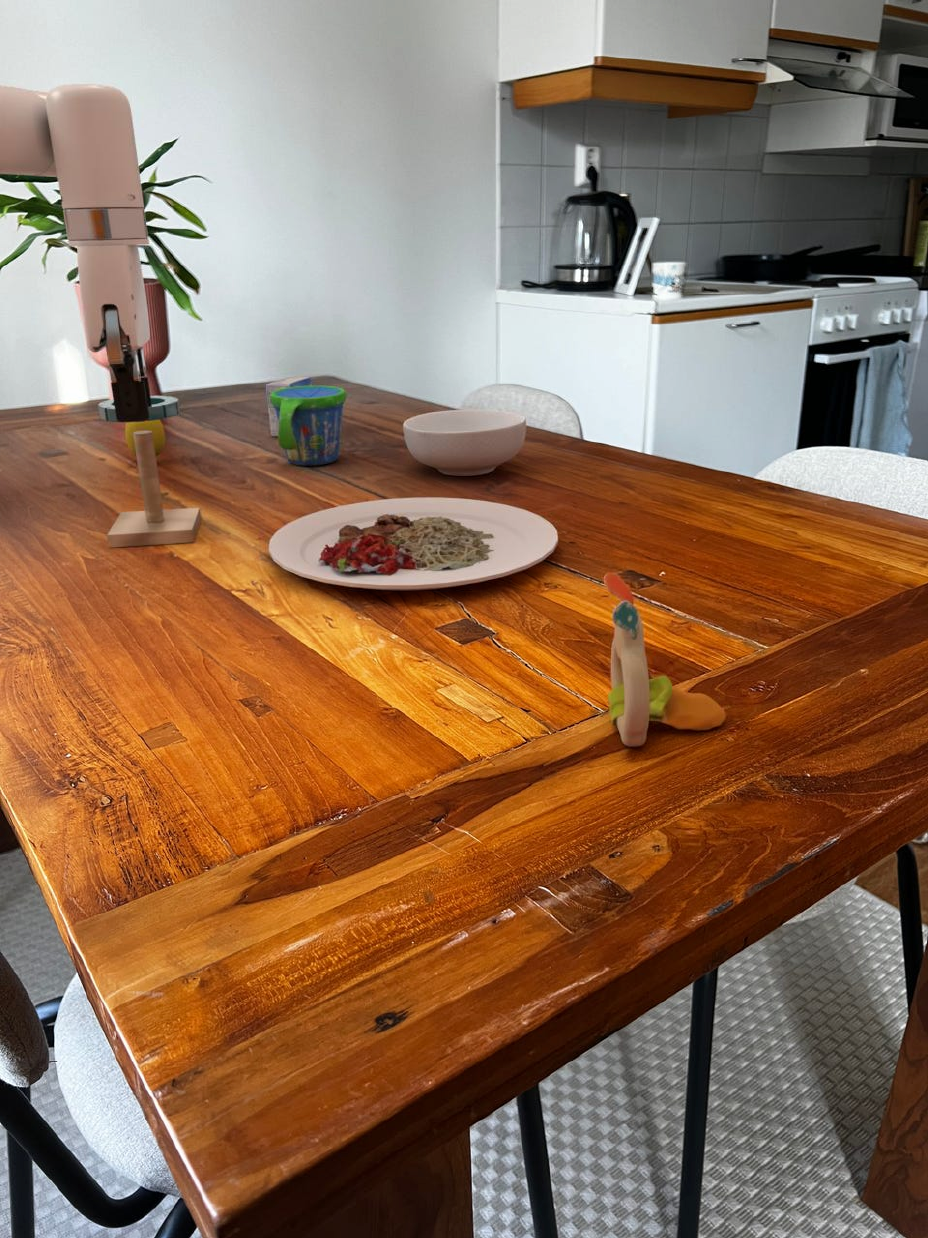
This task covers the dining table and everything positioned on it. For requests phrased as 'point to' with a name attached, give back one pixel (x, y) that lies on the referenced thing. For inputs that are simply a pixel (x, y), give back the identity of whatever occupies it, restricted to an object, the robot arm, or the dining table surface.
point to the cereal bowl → (465, 439)
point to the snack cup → (309, 423)
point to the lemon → (146, 426)
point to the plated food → (413, 543)
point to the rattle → (647, 681)
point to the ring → (157, 410)
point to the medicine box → (276, 386)
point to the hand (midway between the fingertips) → (135, 417)
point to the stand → (152, 508)
